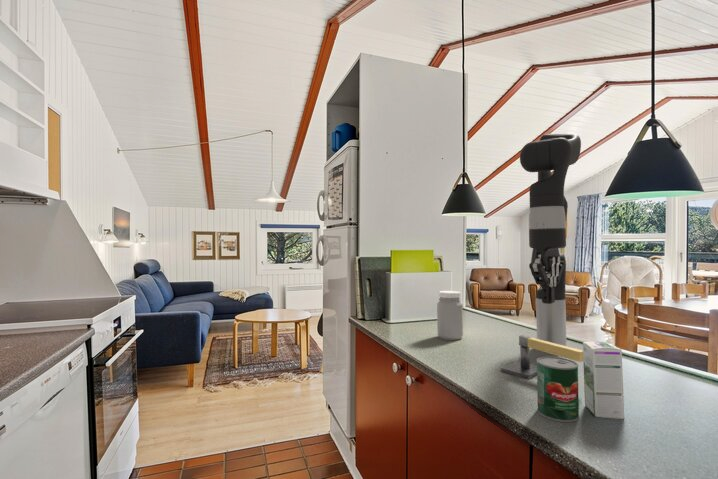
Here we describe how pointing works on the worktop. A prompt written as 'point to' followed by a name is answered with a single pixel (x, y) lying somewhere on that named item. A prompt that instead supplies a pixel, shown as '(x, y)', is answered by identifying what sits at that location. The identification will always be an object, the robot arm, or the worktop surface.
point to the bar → (552, 348)
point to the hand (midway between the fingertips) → (548, 303)
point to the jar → (450, 315)
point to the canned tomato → (557, 389)
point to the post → (522, 365)
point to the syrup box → (603, 379)
